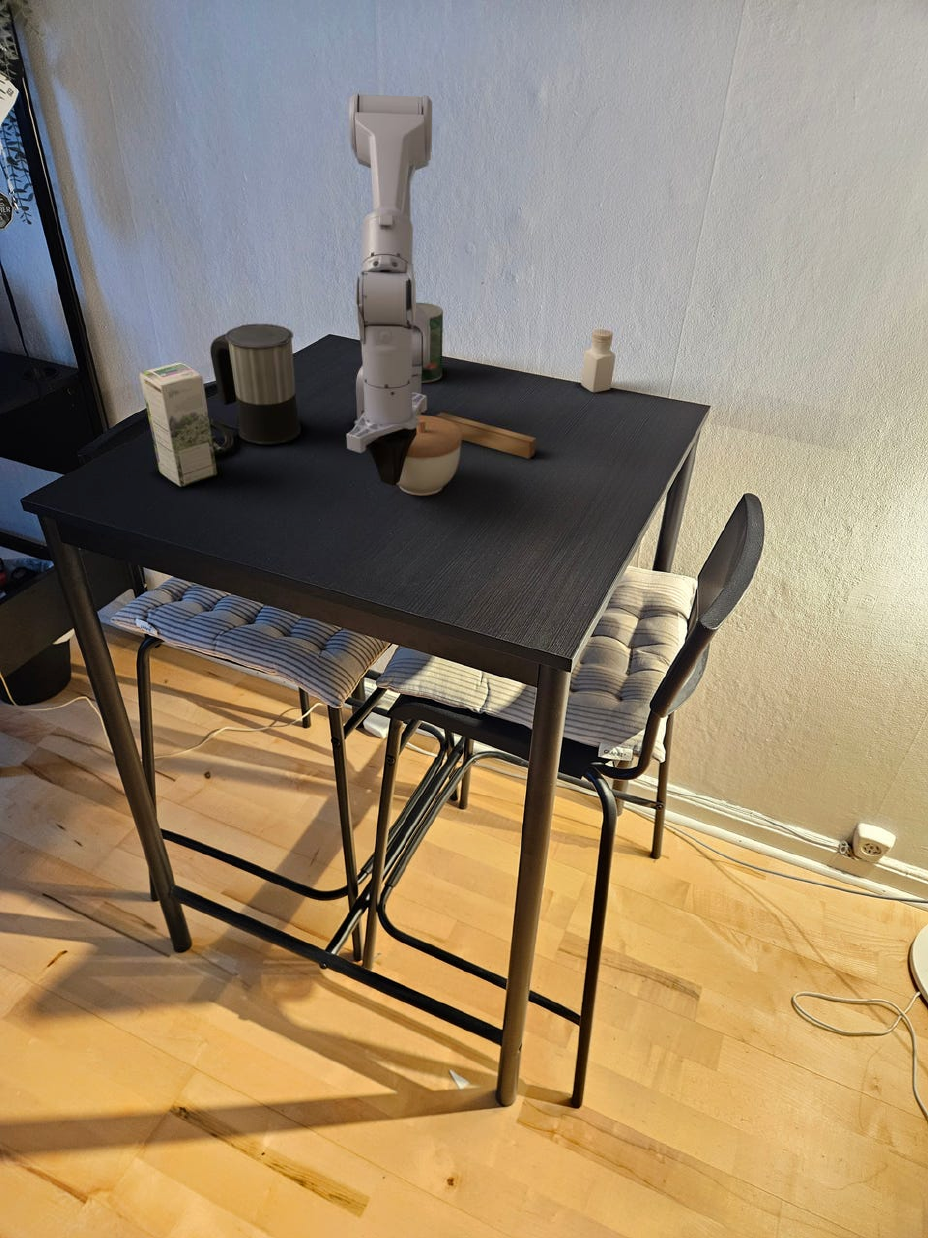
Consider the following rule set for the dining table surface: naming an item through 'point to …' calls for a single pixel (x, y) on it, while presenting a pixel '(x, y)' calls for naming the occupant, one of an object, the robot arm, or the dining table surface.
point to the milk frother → (256, 384)
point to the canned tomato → (434, 344)
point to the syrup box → (179, 423)
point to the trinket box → (431, 456)
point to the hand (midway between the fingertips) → (390, 481)
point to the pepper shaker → (598, 362)
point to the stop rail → (493, 436)
